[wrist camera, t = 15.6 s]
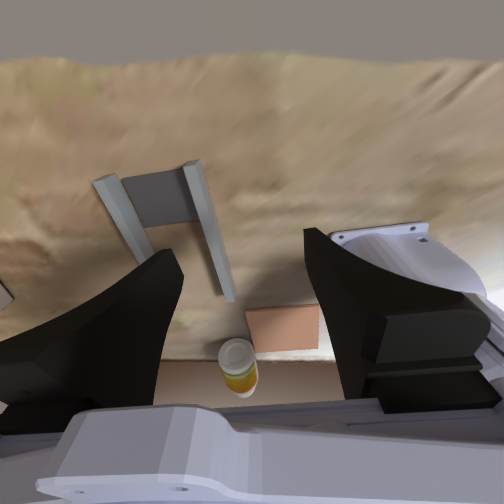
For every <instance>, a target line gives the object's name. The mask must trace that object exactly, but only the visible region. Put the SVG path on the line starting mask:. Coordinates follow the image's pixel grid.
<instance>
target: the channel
mask: <svg viewBox="0 0 504 504" xmlns="http://www.w3.org/2000/svg"><path fill="white" fill-rule="evenodd" d="M121 180H122V182H123V184H124V186H125V189H126V191H127V193H128V195H129V197H130V199H131V201H132V203H133V205H134V207H135V209H136V211H137V213H138V215H139V217H140V219H141V221H142V223H143V225H144V227H145V228H146V227H154V226H161V225H168V224H175V223H183V222H190V221H197V220H200V222H201V225H202V228H203V231H204V234H205V237H206V240H207V244H208V247H209V250H210V253H211V256H212V259H213V262H214V265H215V268H216V271H217V275H218V278H219V281H220V284H221V287H222V290H223V293H224V296H225V299H226V302H227V303H229V302H235V294H236V288H235V285H234V281H233V278H232V274H231V270H230V267H229V263H228V259H227V256H226V252H225V248H224V245H223V241H222V237H221V234H220V230H219V227H218V223H217V219H216V216H215V212H214V208H213V205H212V201H211V197H210V194H209V190H208V187H207V183H206V179H205V176H204V172H203V168H202V165H201V161H200V159H199V160H193V161H189V162H188V163H187V164H185V165H184V166H183V168H182V169H176V170H170V171H164V172H158V173H152V174H146V175H139V176H133V177H127V178H123V179H121ZM92 183H93V185H94V187H95V188H96V190H97V192H98V194H99V195H100V197H101V199H102V201H103V202H104V204H105V206H106V207H107V209H108V211H109V213H110V214H111V216H112V218H113V220H114V221H115V223H116V225H117V227H118V228H119V230H120V232H121V234H122V235H123V237H124V239H125V241H126V242H127V244H128V246H129V248H130V249H131V251H132V253H133V255H134V256H135V258H136V260H137V262H138V263H139V265H140V264H142V263H143V262H144V261H146V260H147V259H148V258H149V257H151V256H152V255H154V254H155V252H154V250H153V248H152V246H151V244H150V242H149V240H148V238H147V236H146V234H145V232H144V230H143V228H142V226H141V224H140V222H139V220H138V218H137V216H136V214H135V212H134V210H133V208H132V206H131V204H130V202H129V200H128V198H127V196H126V194H125V192H124V190H123V188H122V186H121V184H120V182H119V180H118V178H117V176H116V174H109V175H105V176H103V177H101V178H99V179H97V180H95V181H93V182H92Z"/></svg>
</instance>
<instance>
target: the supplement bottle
mask: <svg viewBox="0 0 504 504" xmlns="http://www.w3.org/2000/svg"><path fill="white" fill-rule="evenodd" d="M218 362H219V365H220V368H221V371H222V373H223V376H224V379H225V382H226V384H227V386H228V388H229V389H230V390H231V391H232V392H233V393H235V394H236V395H237V396H239V397H242V398H244V397H248V396H249V395H251V394H252V393H253V392H254V389H255V386H256V384H257V380H258V369H257V363H256V357H255V352H254V348H253V346H252V345H251V343H250V342H249V341H247V340H246V339H243V338H233V339H230V340H228V341H227V342H225V343H224V344H223V345H222V347H221V348H220V350H219V353H218Z"/></svg>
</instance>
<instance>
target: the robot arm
mask: <svg viewBox="0 0 504 504" xmlns="http://www.w3.org/2000/svg"><path fill="white" fill-rule="evenodd" d="M411 227H413V228H412V229H411ZM428 227H429V224H428V223H426V222H415V223H407V224H399V225H390V226H382V227H374V228H366V229H358V230H350V231H342V232H335V233H333V234H332V235H331V237H330V238H329V237H327V236H326V235H325V234H323V233H322V232H321V231H320V230H318V229H317V228H316V227H314V228H307V229H303V230H304V254H305V263H306V268H307V272H308V276H309V278H310V281H311V284H312V286H313V289H314V291H315V294H316V297H317V299H318V302H319V304H320V307H321V309H322V312H323V315H324V318H325V321H326V325H327V329H328V332H329V336H330V340H331V344H332V348H333V351H334V355H335V359H336V363H337V367H338V371H339V375H340V380H341V384H342V388H343V392H344V397H345V400H337V401H321V402H305V403H291V404H274V405H258V406H243V407H228V408H227V407H226V408H209V407H205V406H201V405H198V404H163V405H153V399H154V392H155V386H156V380H157V374H158V369H159V364H160V359H161V354H162V350H163V346H164V341H165V337H166V334H167V330H168V327H169V324H170V322H171V319H172V316H173V313H174V311H175V308H176V305H177V302H178V300H179V297H180V294H181V290H182V286H183V280H184V275H183V273H182V270H181V268H180V266H179V264H178V262H177V260H176V258H175V255H174V253H173V251H172V249H171V248H170V249H163V250H160V251H158V252H156V253H155V254H154V255H152V256H151V257H149V258H148V259H147V260H146V261H144V262H143V263H142V264H140V265H139V266H138V267H137V268H135V269H134V270H133V271H131V272H130V273H129V274H127V275H126V276H125V277H123V278H122V279H121V280H119V281H118V282H116V283H115V284H114V285H112V286H111V287H109V288H108V289H106V290H105V291H103V292H102V293H100V294H98V295H97V296H95V297H94V298H92V299H90V300H89V301H87V302H85V303H83V304H81V305H80V306H78V307H76V308H74V309H72V310H70V311H69V312H67V313H65V314H63V315H61V316H59V317H57V318H55V319H52V320H50V321H48V322H46V323H44V324H42V325H39V326H37V327H35V328H33V329H30V330H28V331H25V332H23V333H21V334H18V335H16V336H13V337H11V338H9V339H6V340H3V341H1V342H0V401H1V402H3V403H6V404H7V405H8V406H7V408H6V409H5V410H4V412H3V413H2V414H0V504H504V311H502V310H501V309H500V308H498V307H497V306H496V305H494V304H493V303H491V302H490V301H489V300H487V296H486V291H485V288H484V285H483V283H482V281H481V279H480V277H479V276H478V274H477V273H476V271H475V270H474V269H473V268H472V267H471V266H470V265H469V264H468V263H466V262H465V261H464V260H462V259H461V258H460V257H458V256H457V255H456V254H455V253H453V252H452V251H451V250H449V249H448V248H447V247H446V246H444V245H443V244H442V243H440V242H439V241H438V240H437V239H435V238H434V237H433V236H431V235H430V234H429V233H427V230H428ZM341 235H343V236H342V237H340V238H339V236H341Z"/></svg>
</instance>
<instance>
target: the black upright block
mask: <svg viewBox="0 0 504 504" xmlns="http://www.w3.org/2000/svg"><path fill="white" fill-rule="evenodd" d="M12 301H13V297H12V296H11V294H10V293H9V292H8V291H7V289H6V288H5V287H4V286H3V285H2V283H1V282H0V311H2V310H3V309H4V308H5V307H6V306H8V305H9V304H10V303H11V302H12Z"/></svg>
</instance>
